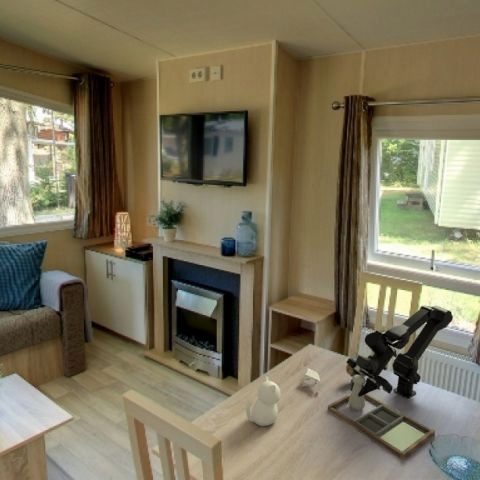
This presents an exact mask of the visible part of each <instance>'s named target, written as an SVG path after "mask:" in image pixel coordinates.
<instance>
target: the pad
mask: <svg viewBox="0 0 480 480" xmlns="http://www.w3.org/2000/svg"><path fill="white" fill-rule="evenodd" d="M425 434H426V433H425V432H423V431H421V430H420V429H419V430H418V428H417V429H416V428H415V427H414V426H413V425H412V426H411V424H409V423H407V422H406V421H402V422H400V423H399V424H397V425H396V426H394V427H393V428H391V429H390V430H388V431H387V432H385V433H384V434H382V435H381V436H379V438H381V439H383V440H384V441H386V442H387V443H389V444H390V445H392V446H393V447H395V448H397V449H398V450H400V451H401V452H402V451H404V450H405V449H406V448H408V447H409V446H410V445H412V444H413V443H414V442H416V441H417V440H418V439H420V438H421V437H422V436H424V435H425Z"/></svg>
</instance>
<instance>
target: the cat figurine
mask: <svg viewBox="0 0 480 480" xmlns="http://www.w3.org/2000/svg"><path fill="white" fill-rule="evenodd" d="M281 395H282V392H281V389H280V387H279V385H278V384H277V383H276V382H274V381H271V380H269V378H268V376H266V375H265V376H264V379H263V381H262V382H261V383H260V384H259V386H258V389H257V398H258V399H256V401H255V402H254V403H253V405H252V400H251V399H249V400H248V401H247V403H246V407H245V411H246V412H245V413H246V418H247V419H248V420H249V421H250V422H251V423H255V424H256V425H258V426H260V427H267V426H269V425H271V424H274V423H276V422H277V420H278V416H279V413H278V412H279V411H278V409H279V408H278V405H277V403H278V402H279V401H280V398H281ZM251 406H252V407H251ZM251 408H252V409H251Z"/></svg>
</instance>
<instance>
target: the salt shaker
mask: <svg viewBox="0 0 480 480" xmlns="http://www.w3.org/2000/svg"><path fill="white" fill-rule="evenodd" d="M352 379H353V381H352V382H354V386H353V389H352V391H351V392H350V393H351V395H350V398H349V401H348V405H349V408H350V409H351V411H353V412H357V413H360V412H361V411H363V409H364V408H365V407H366V401H365V400H366V398H364V395H363V396H361V397H359V396H358V394H359V392H360V390H361V389H362V388H363V386H364V385H365V384H366V378H365V377H363V376H362V375H355V376H354V377H352Z"/></svg>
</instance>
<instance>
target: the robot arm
mask: <svg viewBox="0 0 480 480" xmlns="http://www.w3.org/2000/svg"><path fill="white" fill-rule="evenodd" d="M453 318H454V316H453V313H452V311H451V310H449V309H446V308H443V307H440V306H438V305H432V306H429V305H425V304H423V305H421V306H419V309H418V310H417V311H416V312H414V313H413V314H412V315H411V316H410V317H408V319H406V320H404V322H403V323H402V324H400V325H395V326H392V327H390V328H388V329H387V330H386V331H384V332H381V331H380V330H378V329H377V330H375V331H374V332H373V331H372V332H370V333H367V334H366V335H365V338H364V343H365V345H366V346H367V347H368V349H370V351H372V353H373V354H372V355H371V354H369V355H368V356H367V357H366V356H364V355H361V354H358V355H357V357H356V359H354V358H353V357H349V358H348V359H347V360H346V362H345V363H346V365H347V364H348V365H349V366H350V367H351V368H352V370H353V371H354V376H355V375H362V376H363V375H366V376H365V377H366V379H367V381H366V380H365V384H364V385H363V388H362V389H361V390H360V392H359V394H358V396H359V397H361V396H363V395H365V394H369V393H371V392H373V391H376V390H381V387H382V390H383V391H384V392H386V393H388V394H389V395H390V394H391V393H392V391H393V392H394V393H395V394H398V395H400V396H403V397H404V398H406V399H409V398H411V397H412V396H414V395H416V394H417V391H415V390H414V385H418V383H420V380H421V378H422V377H421V375H420V374H419V373H418V371H419V360H420V359H421V357H422V356H423V355H424V353H425V351H426V350H427V348H428V347H429V345H430V344H431V342H432V341H433V340H434V338H435V337H436V335H437V333H439V331H441V330H443V329H446V328H447V327H448V326H449V325H450V323H451V322H452V321H453ZM423 325H424V327H423ZM421 327H422V330H421V331H420V332H419V334H418V335H417V337H416V338H415V339H414V341H413V342H412V344H411V346H410V347H409V348H408V350H407V351H406V352H405V353H404V352H403V353H401V352H399V353H398V354H397V350H402V349H404V348H405V346H407V344H409V342H410V338H411V336H412V335H413V334H414V333H416V331H418V330H419V329H420V328H421ZM393 357H394V358H395V359H393V361H392V365H391V366H392V371H393V375H395V376H397V377H398V378H397V384H396V385H397V386H396V387H395V388H393V385H392V384H391V383H390V382H389V381H388V380H387V379H386V378H384V377H382V376H381V373H382V372H383V371H387V367H386V366H387V365H388V363H389V362H390V361H391V360H392V358H393ZM369 378H370V379H369ZM351 382H352V383H351V385H350V389H349V390H350V391H351V392H352V389H353V386H354V382H353V381H351Z"/></svg>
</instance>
